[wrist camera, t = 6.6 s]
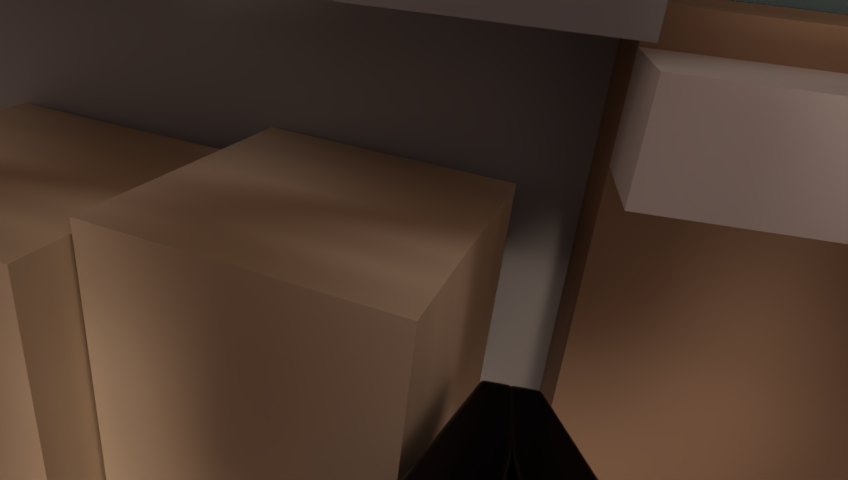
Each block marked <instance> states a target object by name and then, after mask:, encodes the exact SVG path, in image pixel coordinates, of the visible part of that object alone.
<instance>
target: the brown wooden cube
mask: <svg viewBox="0 0 848 480" xmlns="http://www.w3.org/2000/svg"><path fill="white" fill-rule="evenodd" d="M515 188H516V184H515V183H511V182H506V181H502V180H498V179H493V178H489V177H485V176H481V175H476V174H472V173H468V172H463V171H459V170H455V169H450V168H446V167H442V166H437V165H433V164H429V163H424V162H420V161H416V160H412V159H407V158H403V157H399V156H394V155H390V154H386V153H381V152H377V151H373V150H368V149H364V148H360V147H355V146H351V145H347V144H343V143H338V142H334V141H330V140H325V139H321V138H317V137H312V136H308V135H304V134H299V133H295V132H291V131H286V130H282V129H278V128H274V127H271V128H269V129H266V130H264V131H262V132H259V133H257V134H255V135H253V136H250V137H248V138H246V139H244V140H241V141H239V142H237V143H235V144H232V145H230V146H228V147H226V148H223V149H221V150H219V151H217V152H214V153H212V154H210V155H208V156H205V157H203V158H201V159H199V160H196V161H194V162H192V163H190V164H187V165H185V166H183V167H181V168H178V169H176V170H174V171H172V172H169V173H167V174H165V175H163V176H160V177H158V178H156V179H154V180H151V181H149V182H147V183H145V184H142V185H140V186H138V187H135V188H133V189H131V190H129V191H126V192H124V193H122V194H120V195H117V196H115V197H113V198H111V199H108V200H106V201H104V202H102V203H99V204H97V205H95V206H93V207H90V208H88V209H86V210H84V211H81V212H79V213H77V214H75V215H72V216H70V223H71V230H72V237H73V244H74V251H75V259H76V266H77V273H78V280H79V287H80V294H81V301H82V309H83V316H84V323H85V330H86V337H87V344H88V352H89V359H90V366H91V373H92V380H93V387H94V394H95V402H96V409H97V416H98V423H99V430H100V437H101V444H102V452H103V459H104V466H105V473H106V480H401V479H402V478H403V477H404V476H405V474H406V473H407V472H408V471H409V470H410V468H411V467H412V466H413V465H414V463H415V462H416V461H417V460H418V458H419V457H420V456H421V455H422V453H423V452H424V451H425V450H426V448H427V447H428V446H429V445H430V443H431V442H432V441H433V440H434V438H435V437H436V436H437V435H438V433H439V432H440V431H441V430H442V428H443V427H444V426H445V425H446V423H447V422H448V421H449V420H450V418H451V417H452V416H453V415H454V413H455V412H456V411H457V410H458V408H459V407H460V406H461V405H462V403H463V402H464V401H465V400H466V398H467V397H468V396H469V395H470V393H471V392H472V391H473V390H474V389H475V387H476V386H477V385H478V384H479V383H480V378H481V372H482V367H483V361H484V356H485V351H486V345H487V340H488V334H489V329H490V324H491V318H492V313H493V307H494V302H495V297H496V291H497V286H498V280H499V275H500V270H501V264H502V259H503V253H504V248H505V243H506V237H507V232H508V226H509V221H510V215H511V210H512V205H513V199H514V194H515Z"/></svg>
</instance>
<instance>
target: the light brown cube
mask: <svg viewBox="0 0 848 480" xmlns="http://www.w3.org/2000/svg"><path fill="white" fill-rule="evenodd" d="M219 150H220V149H216V148H212V147H208V146H204V145H199V144H195V143H191V142H187V141H183V140H178V139H174V138H170V137H166V136H162V135H157V134H153V133H149V132H145V131H141V130H136V129H132V128H128V127H124V126H120V125H115V124H111V123H107V122H103V121H99V120H94V119H90V118H86V117H82V116H78V115H73V114H69V113H65V112H61V111H57V110H52V109H48V108H44V107H40V106H36V105H31V104H27V103H23V104H19V105H15V106H11V107H7V108H3V109H0V480H106V473H105V466H104V459H103V452H102V444H101V437H100V430H99V423H98V416H97V409H96V402H95V394H94V387H93V380H92V373H91V366H90V359H89V352H88V344H87V337H86V330H85V323H84V316H83V309H82V301H81V294H80V287H79V280H78V273H77V266H76V259H75V251H74V244H73V237H72V230H71V223H70V216H72V215H75V214H77V213H79V212H81V211H84V210H86V209H88V208H90V207H93V206H95V205H97V204H99V203H102V202H104V201H106V200H108V199H111V198H113V197H115V196H117V195H120V194H122V193H124V192H126V191H129V190H131V189H133V188H135V187H138V186H140V185H142V184H145V183H147V182H149V181H151V180H154V179H156V178H158V177H160V176H163V175H165V174H167V173H169V172H172V171H174V170H176V169H178V168H181V167H183V166H185V165H187V164H190V163H192V162H194V161H196V160H199V159H201V158H203V157H205V156H208V155H210V154H212V153H214V152H217V151H219Z"/></svg>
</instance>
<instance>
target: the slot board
mask: <svg viewBox="0 0 848 480" xmlns="http://www.w3.org/2000/svg"><path fill="white" fill-rule="evenodd" d="M540 392H542V393H543V394H544V396H545V397H546V399H547V401H548V402H549V404H550V405H551V407H552V408H553V410H554V411H555V413H556V415H557V416H558V418H559V419H560V421H561V422H562V424H563V425H564V427H565V429H566V430H567V432H568V433H569V435H570V436H571V438H572V439H573V441H574V443H575V444H576V446H577V447H578V449H579V450H580V452H581V453H582V455H583V457H584V458H585V460H586V461H587V463H588V464H589V466H590V467H591V469H592V471H593V472H594V474H595V475H596V477H597V478H598V480H848V15H845V14H836V13H828V12H820V11H812V10H804V9H796V8H788V7H779V6H771V5H763V4H755V3H747V2H739V1H731V0H668V3H667V7H666V11H665V15H664V19H663V23H662V27H661V31H660V35H659V39H658V43H654V42H646V41H638V40H631V39H623V38H620V39H619V44H618V48H617V52H616V57H615V61H614V66H613V70H612V74H611V79H610V83H609V88H608V92H607V96H606V101H605V105H604V110H603V114H602V118H601V123H600V127H599V132H598V136H597V140H596V145H595V149H594V154H593V158H592V162H591V167H590V171H589V176H588V180H587V184H586V189H585V193H584V198H583V202H582V206H581V211H580V215H579V220H578V224H577V228H576V233H575V237H574V242H573V246H572V250H571V255H570V259H569V264H568V268H567V272H566V277H565V281H564V286H563V290H562V294H561V299H560V303H559V308H558V312H557V316H556V321H555V325H554V330H553V334H552V338H551V343H550V347H549V352H548V356H547V360H546V365H545V369H544V374H543V378H542V382H541V387H540Z"/></svg>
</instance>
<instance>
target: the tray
mask: <svg viewBox="0 0 848 480" xmlns="http://www.w3.org/2000/svg"><path fill="white" fill-rule="evenodd" d="M667 3H668V0H0V109H3V108H7V107H11V106H15V105H19V104H23V103H27V104H31V105H36V106H40V107H44V108H48V109H52V110H57V111H61V112H65V113H69V114H73V115H78V116H82V117H86V118H90V119H94V120H99V121H103V122H107V123H111V124H115V125H120V126H124V127H128V128H132V129H136V130H141V131H145V132H149V133H153V134H157V135H162V136H166V137H170V138H174V139H178V140H183V141H187V142H191V143H195V144H199V145H204V146H208V147H212V148H216V149H220V150H221V149H223V148H226V147H228V146H230V145H232V144H235V143H237V142H239V141H241V140H244V139H246V138H248V137H250V136H253V135H255V134H257V133H259V132H262V131H264V130H266V129H269V128H271V127H274V128H278V129H282V130H286V131H291V132H295V133H299V134H304V135H308V136H312V137H317V138H321V139H325V140H330V141H334V142H338V143H343V144H347V145H351V146H355V147H360V148H364V149H368V150H373V151H377V152H381V153H386V154H390V155H394V156H399V157H403V158H407V159H412V160H416V161H420V162H424V163H429V164H433V165H437V166H442V167H446V168H450V169H455V170H459V171H463V172H468V173H472V174H476V175H481V176H485V177H489V178H493V179H498V180H502V181H506V182H511V183H515V184H516V188H515V194H514V199H513V205H512V210H511V215H510V221H509V226H508V232H507V237H506V243H505V248H504V253H503V259H502V264H501V270H500V275H499V280H498V286H497V291H496V297H495V302H494V307H493V313H492V318H491V324H490V329H489V334H488V340H487V345H486V351H485V356H484V361H483V367H482V372H481V378H480V382H481V381H491V382H497V383H502V384H508V385H510V386H519V387H524V388H530V389H535V390H539V391H540V387H541V382H542V378H543V374H544V369H545V365H546V360H547V356H548V352H549V347H550V343H551V338H552V334H553V330H554V325H555V321H556V316H557V312H558V308H559V303H560V299H561V294H562V290H563V286H564V281H565V277H566V272H567V268H568V264H569V259H570V255H571V250H572V246H573V242H574V237H575V233H576V228H577V224H578V220H579V215H580V211H581V206H582V202H583V198H584V193H585V189H586V184H587V180H588V176H589V171H590V167H591V162H592V158H593V154H594V149H595V145H596V140H597V136H598V132H599V127H600V123H601V118H602V114H603V110H604V105H605V101H606V96H607V92H608V88H609V83H610V79H611V74H612V70H613V66H614V61H615V57H616V52H617V48H618V44H619V39H620V38H623V39H631V40H638V41H646V42H654V43H658V39H659V35H660V31H661V27H662V23H663V19H664V15H665V11H666V7H667Z"/></svg>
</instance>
